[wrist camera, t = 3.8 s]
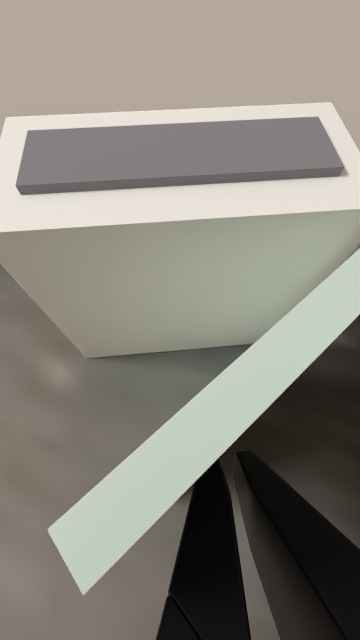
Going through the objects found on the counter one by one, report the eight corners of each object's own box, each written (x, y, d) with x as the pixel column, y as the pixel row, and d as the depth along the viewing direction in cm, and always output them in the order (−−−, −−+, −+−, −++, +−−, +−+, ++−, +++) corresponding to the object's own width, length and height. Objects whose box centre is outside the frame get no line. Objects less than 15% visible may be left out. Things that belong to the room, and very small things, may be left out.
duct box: (276, 341, 17) (398, 197, 7) (86, 358, 16) (-36, 225, 7) (257, 271, 19) (335, 92, 10) (90, 284, 18) (1, 106, 9)
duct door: (289, 361, 16) (435, 236, 7) (148, 499, 13) (82, 595, 4) (275, 348, 16) (398, 213, 7) (135, 480, 13) (47, 530, 4)
